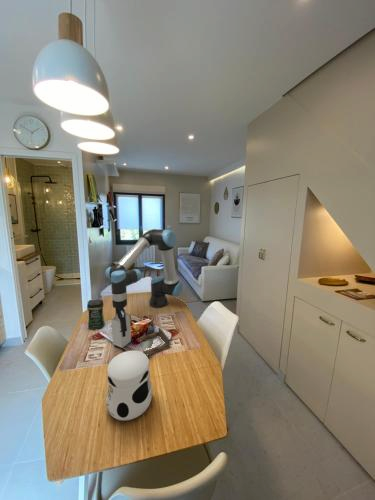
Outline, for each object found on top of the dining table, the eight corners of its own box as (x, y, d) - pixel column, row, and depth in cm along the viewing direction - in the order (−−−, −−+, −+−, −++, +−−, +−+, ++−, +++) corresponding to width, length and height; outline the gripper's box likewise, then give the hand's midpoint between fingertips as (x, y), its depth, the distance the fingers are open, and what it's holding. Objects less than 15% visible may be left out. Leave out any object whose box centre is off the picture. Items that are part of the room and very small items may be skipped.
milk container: (99, 403, 81) (96, 362, 78) (138, 379, 93) (136, 343, 90) (120, 437, 69) (117, 391, 65) (161, 404, 81) (160, 364, 77)
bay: (160, 335, 127) (159, 327, 126) (169, 347, 115) (169, 339, 114) (136, 342, 119) (135, 334, 118) (143, 356, 107) (143, 348, 106)
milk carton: (112, 344, 115) (110, 313, 111) (122, 337, 121) (120, 307, 117) (122, 348, 111) (120, 316, 108) (131, 341, 118) (129, 310, 114)
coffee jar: (87, 330, 130) (85, 303, 127) (90, 324, 138) (88, 298, 134) (103, 329, 132) (101, 302, 129) (105, 322, 140) (104, 297, 137)
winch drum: (153, 330, 132) (152, 318, 130) (155, 333, 128) (155, 321, 126) (146, 331, 130) (146, 320, 128) (149, 335, 126) (148, 323, 124)
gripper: (108, 293, 119) (111, 328, 123) (116, 309, 100) (119, 349, 104) (122, 291, 122) (123, 325, 127) (131, 305, 104) (133, 345, 108)
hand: (121, 336), depth 115 cm, fingers closed on milk carton, 10 cm apart
